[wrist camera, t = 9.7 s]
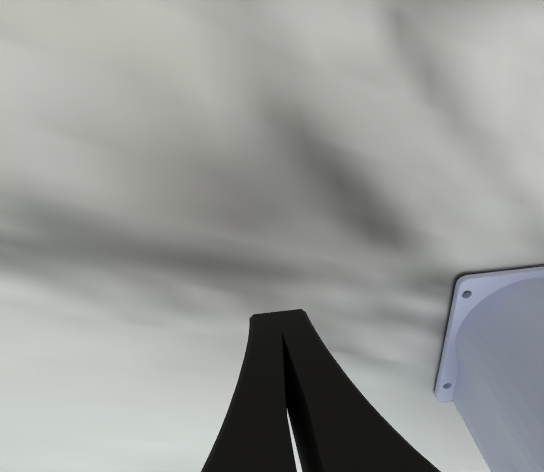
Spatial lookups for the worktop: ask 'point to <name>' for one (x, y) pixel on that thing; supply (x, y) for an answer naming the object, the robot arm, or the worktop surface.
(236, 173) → the worktop surface
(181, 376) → the worktop surface
